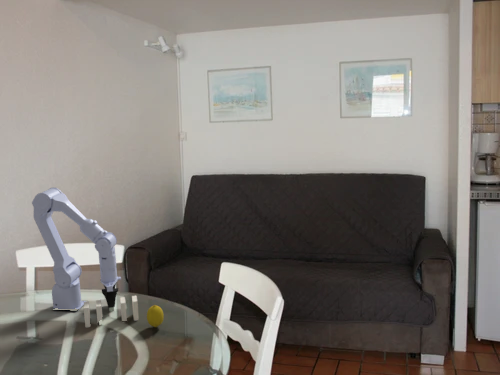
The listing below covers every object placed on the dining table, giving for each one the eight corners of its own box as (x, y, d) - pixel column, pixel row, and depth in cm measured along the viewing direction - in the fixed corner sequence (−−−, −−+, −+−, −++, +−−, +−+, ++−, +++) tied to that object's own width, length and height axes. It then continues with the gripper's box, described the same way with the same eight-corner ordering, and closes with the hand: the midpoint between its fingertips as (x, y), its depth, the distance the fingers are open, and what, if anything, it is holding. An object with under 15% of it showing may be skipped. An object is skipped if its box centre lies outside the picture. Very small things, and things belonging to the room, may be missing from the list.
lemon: (148, 324, 180) (146, 302, 178) (164, 323, 181) (163, 301, 179) (146, 331, 175) (145, 309, 173) (163, 330, 175) (162, 308, 173)
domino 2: (97, 325, 180) (96, 306, 178) (97, 319, 184) (96, 300, 183) (102, 325, 180) (101, 306, 179) (102, 318, 185) (101, 299, 183)
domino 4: (122, 322, 182) (120, 303, 180) (121, 316, 186) (120, 297, 185) (126, 321, 182) (125, 302, 181) (126, 315, 187) (124, 296, 185)
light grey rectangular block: (85, 327, 179) (83, 308, 177) (85, 321, 183) (84, 302, 182) (90, 326, 179) (88, 307, 178) (90, 320, 184) (88, 301, 182)
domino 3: (109, 311, 190) (107, 293, 189) (109, 305, 195) (107, 287, 193) (114, 311, 191) (112, 292, 189) (113, 305, 195) (112, 287, 194)
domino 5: (134, 320, 183) (132, 301, 181) (133, 314, 187) (131, 296, 186) (138, 320, 183) (137, 301, 182) (137, 313, 188) (136, 295, 186)
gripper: (120, 273, 183) (123, 309, 186) (118, 259, 197) (121, 293, 200) (99, 275, 182) (102, 312, 185) (99, 261, 195) (102, 295, 198)
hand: (111, 302), depth 192 cm, fingers open, 7 cm apart
